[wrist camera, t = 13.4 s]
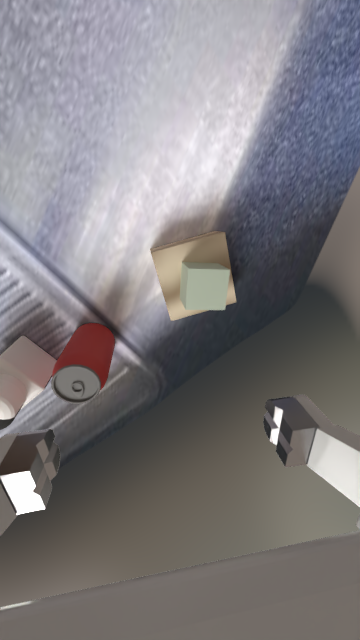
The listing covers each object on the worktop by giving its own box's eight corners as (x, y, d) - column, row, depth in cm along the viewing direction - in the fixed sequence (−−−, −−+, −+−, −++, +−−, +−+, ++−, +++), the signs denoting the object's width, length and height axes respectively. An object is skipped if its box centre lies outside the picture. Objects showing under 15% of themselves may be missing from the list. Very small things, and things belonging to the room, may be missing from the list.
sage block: (181, 261, 32) (188, 268, 27) (217, 263, 33) (230, 269, 28) (179, 297, 34) (185, 309, 29) (213, 298, 34) (224, 310, 30)
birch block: (150, 248, 35) (151, 252, 31) (214, 230, 36) (224, 232, 31) (167, 309, 39) (171, 321, 35) (225, 292, 40) (236, 302, 35)
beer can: (77, 359, 40) (53, 411, 29) (69, 322, 38) (39, 364, 27) (117, 355, 41) (108, 404, 30) (112, 319, 38) (100, 358, 27)
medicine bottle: (31, 387, 41) (-10, 448, 30) (-7, 361, 38) (-68, 418, 27) (60, 362, 40) (30, 415, 29) (23, 333, 37) (-27, 380, 26)
